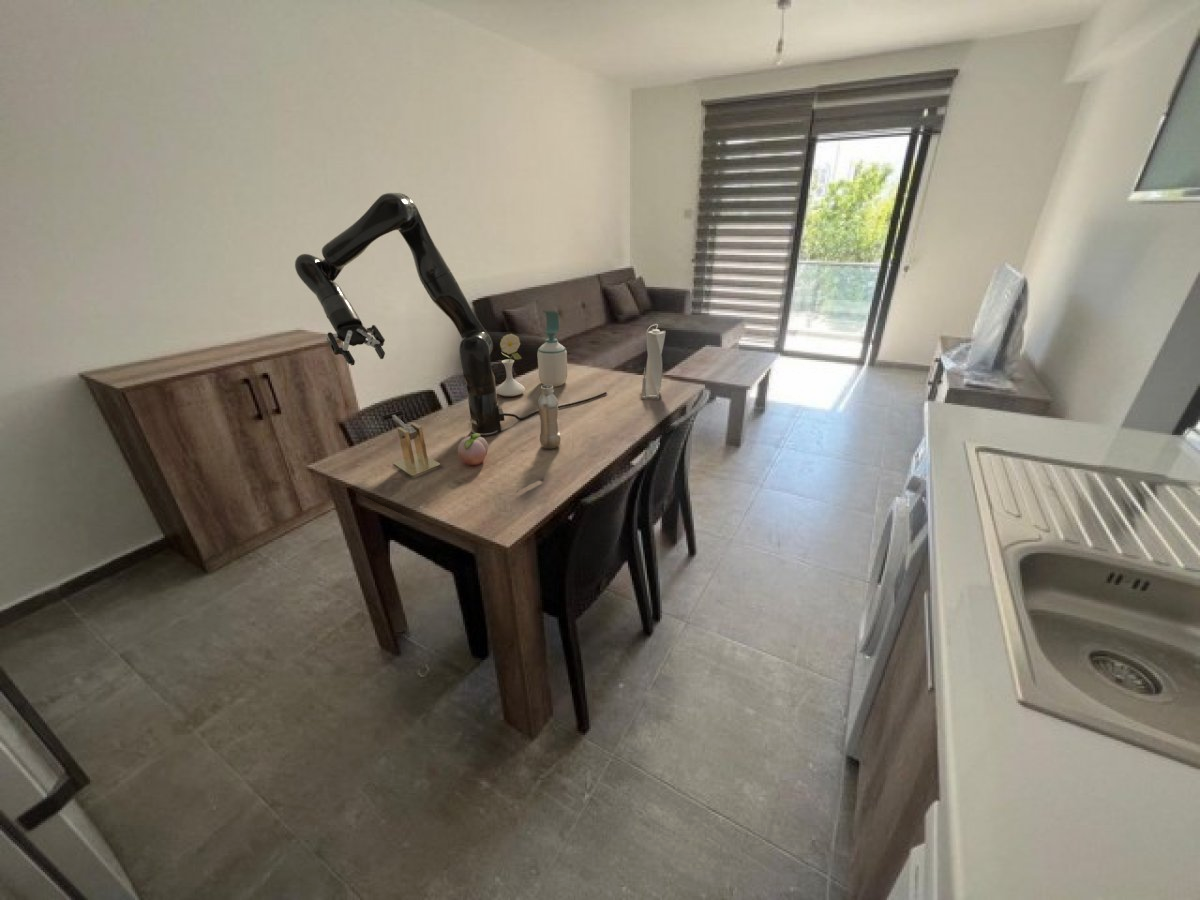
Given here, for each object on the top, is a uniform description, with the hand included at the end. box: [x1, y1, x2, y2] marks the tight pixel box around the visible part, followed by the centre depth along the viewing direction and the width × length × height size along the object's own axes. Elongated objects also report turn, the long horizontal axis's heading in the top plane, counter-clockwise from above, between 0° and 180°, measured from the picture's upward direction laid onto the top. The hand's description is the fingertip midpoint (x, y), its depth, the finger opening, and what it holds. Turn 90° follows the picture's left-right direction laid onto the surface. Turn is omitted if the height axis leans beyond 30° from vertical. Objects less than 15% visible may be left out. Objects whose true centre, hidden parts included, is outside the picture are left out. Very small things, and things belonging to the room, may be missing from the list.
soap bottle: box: [536, 310, 568, 388], centre depth 200 cm, size 12×12×31 cm
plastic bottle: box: [536, 384, 561, 450], centre depth 147 cm, size 6×7×20 cm
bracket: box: [392, 422, 442, 477], centre depth 137 cm, size 11×9×13 cm
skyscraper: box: [640, 323, 667, 401], centre depth 186 cm, size 8×8×28 cm
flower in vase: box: [496, 333, 526, 397], centre depth 189 cm, size 13×11×25 cm
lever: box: [380, 409, 417, 441], centre depth 137 cm, size 12×6×2 cm, turn 48°
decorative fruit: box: [457, 433, 489, 466], centre depth 138 cm, size 9×8×10 cm
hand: (368, 360), depth 137 cm, fingers open, 8 cm apart
